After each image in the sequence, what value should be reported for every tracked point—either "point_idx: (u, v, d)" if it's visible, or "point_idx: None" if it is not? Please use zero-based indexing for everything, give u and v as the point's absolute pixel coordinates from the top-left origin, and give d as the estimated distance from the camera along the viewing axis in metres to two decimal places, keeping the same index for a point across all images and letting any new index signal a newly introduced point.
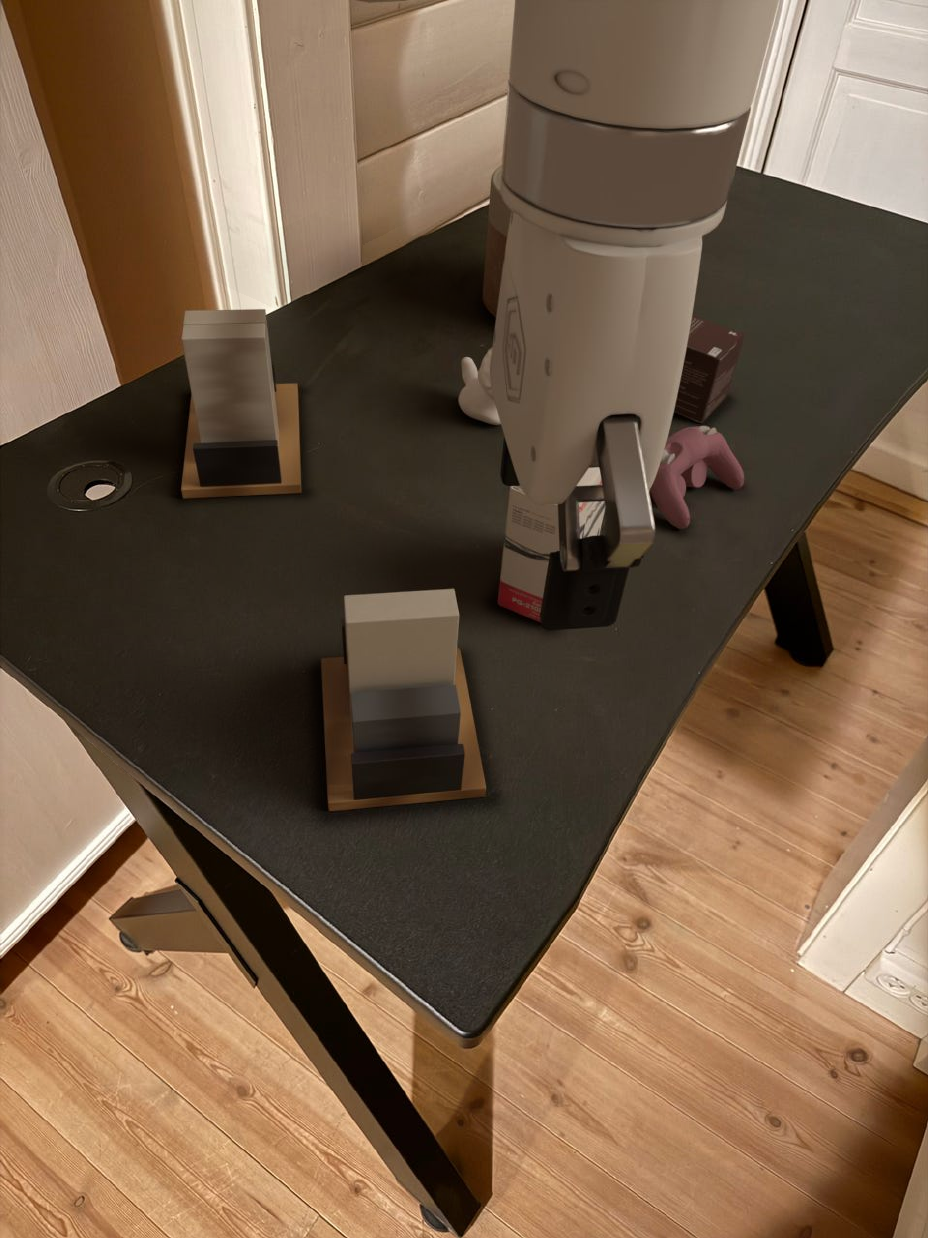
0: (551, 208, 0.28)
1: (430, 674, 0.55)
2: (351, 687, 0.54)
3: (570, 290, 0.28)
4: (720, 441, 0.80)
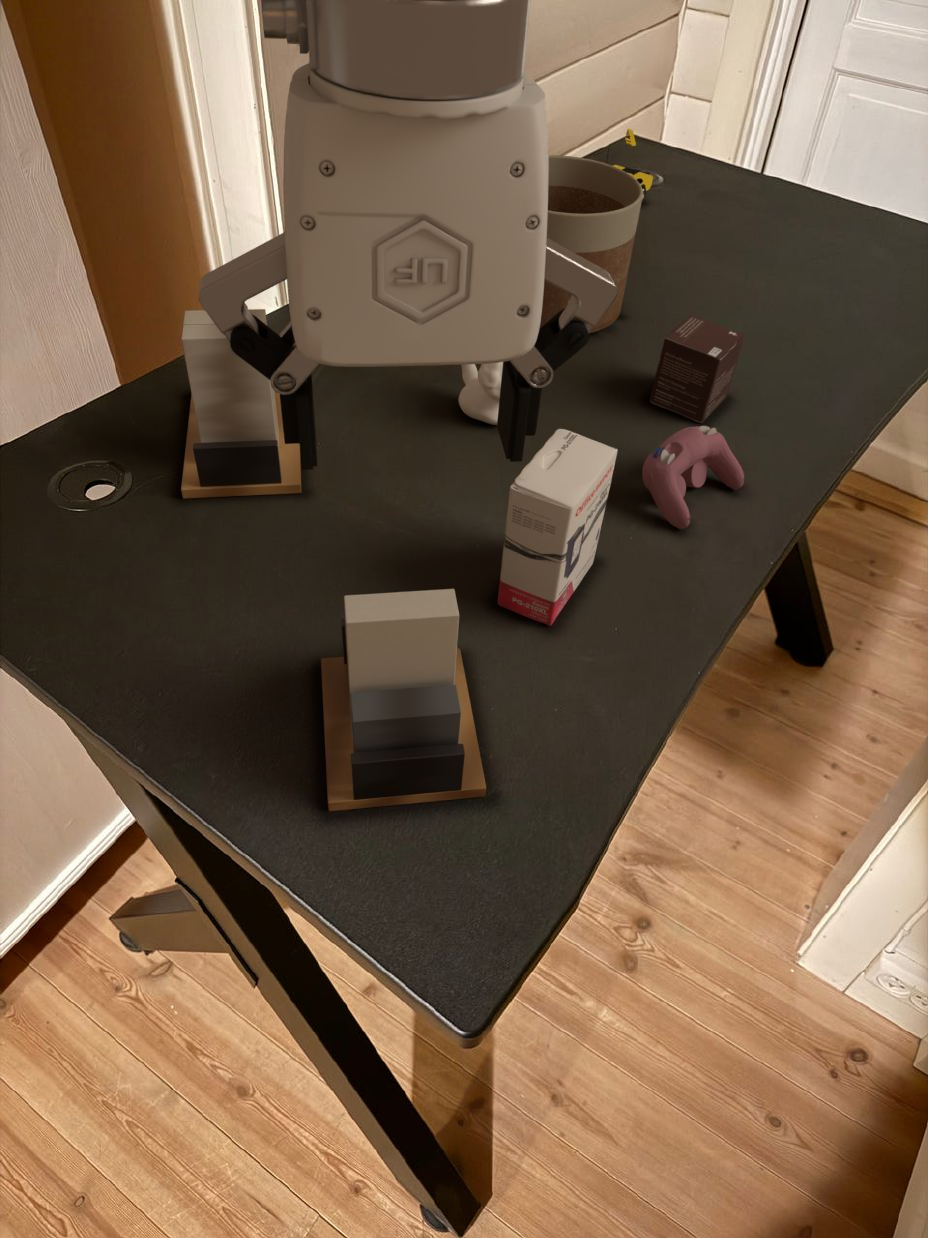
0: (503, 86, 0.30)
1: (430, 674, 0.55)
2: (351, 687, 0.54)
3: (541, 141, 0.32)
4: (720, 441, 0.80)
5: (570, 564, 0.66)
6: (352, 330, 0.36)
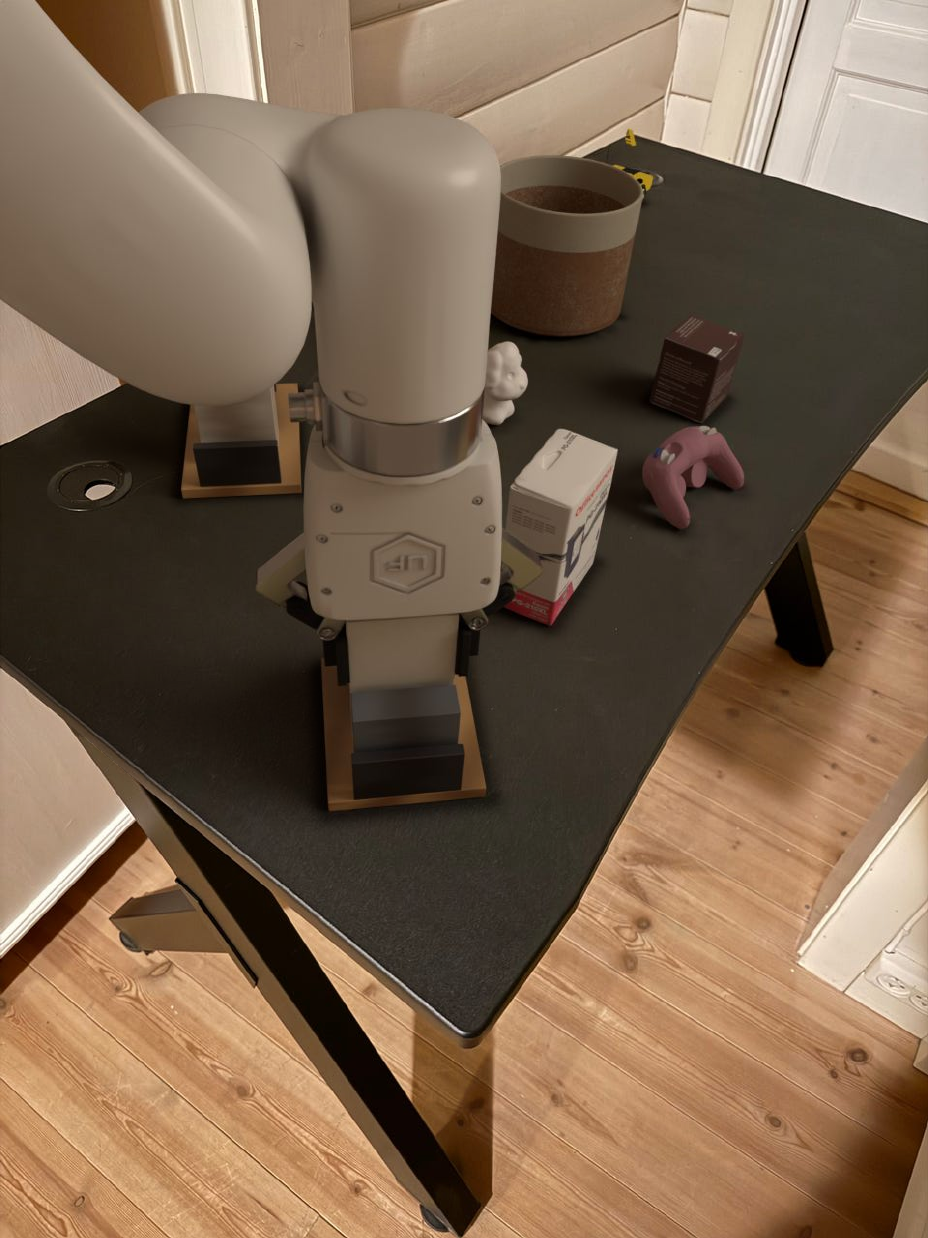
0: (464, 457, 0.41)
1: (430, 674, 0.55)
2: (351, 687, 0.54)
3: (494, 481, 0.43)
4: (720, 441, 0.80)
5: (570, 564, 0.66)
6: (355, 600, 0.47)
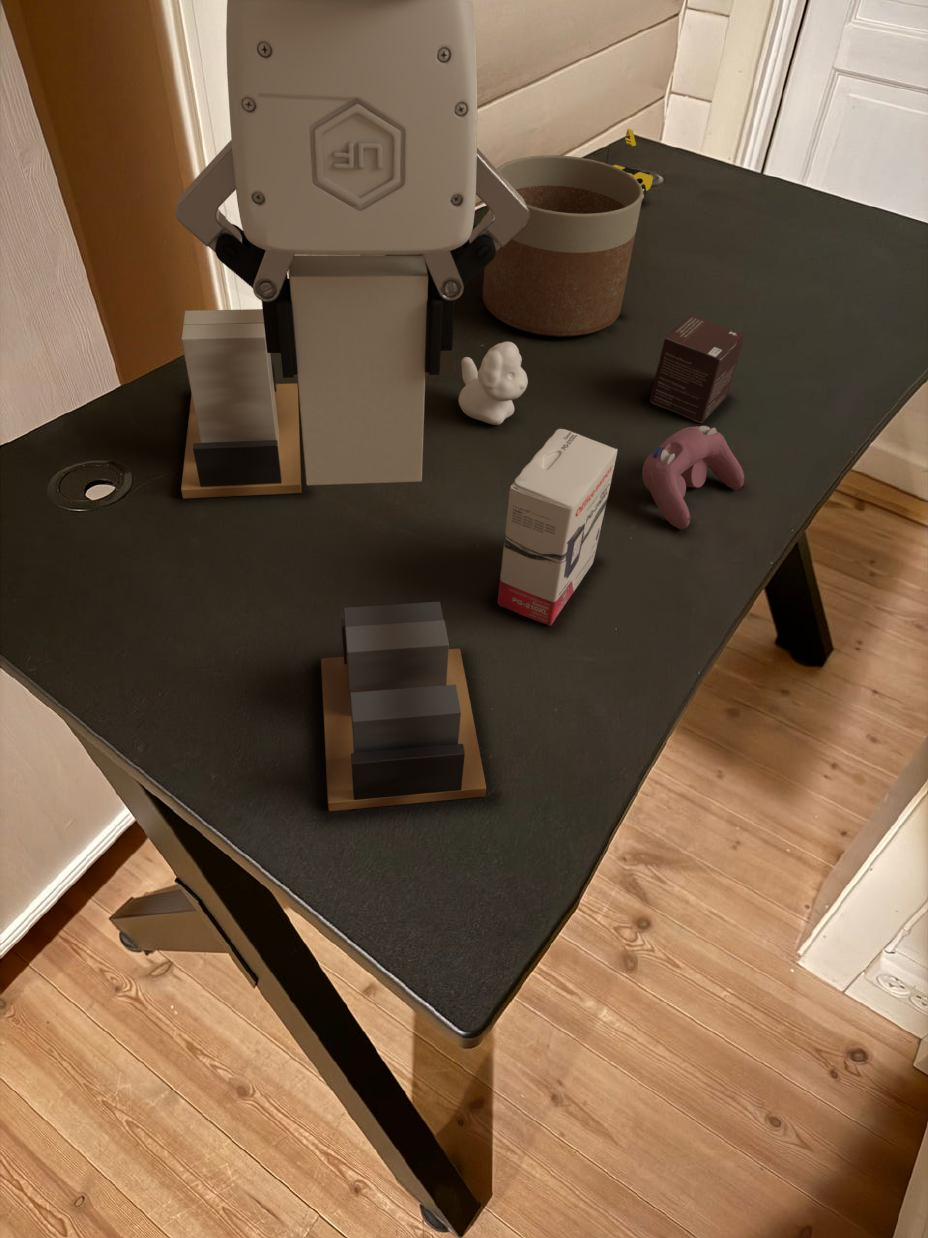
0: None
1: (395, 371, 0.46)
2: (300, 385, 0.45)
3: (466, 27, 0.34)
4: (720, 441, 0.80)
5: (570, 564, 0.66)
6: (295, 215, 0.38)
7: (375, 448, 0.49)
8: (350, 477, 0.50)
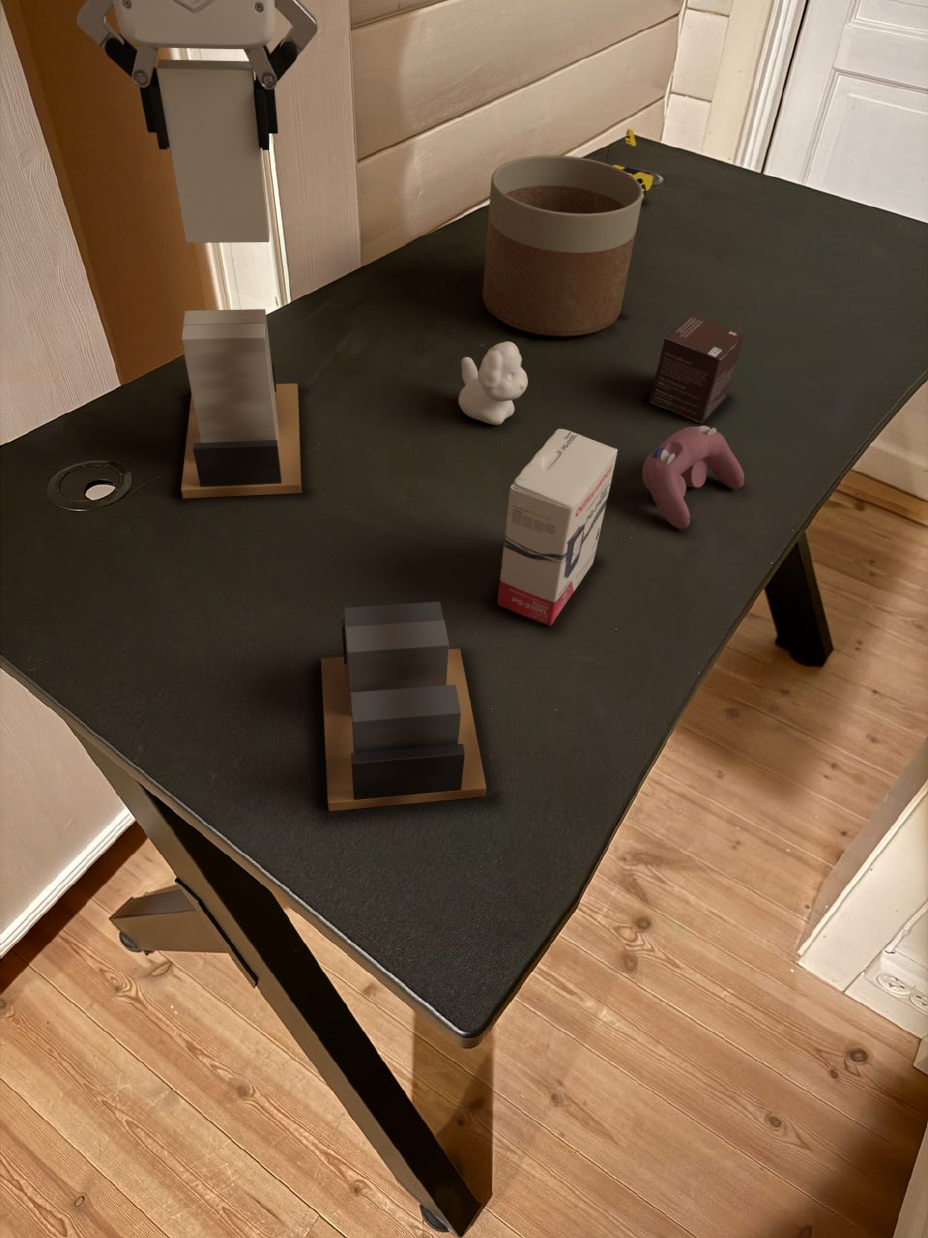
0: None
1: (238, 146, 0.66)
2: (172, 156, 0.66)
3: None
4: (720, 441, 0.80)
5: (570, 564, 0.66)
6: (152, 16, 0.58)
7: (232, 212, 0.69)
8: (216, 236, 0.70)
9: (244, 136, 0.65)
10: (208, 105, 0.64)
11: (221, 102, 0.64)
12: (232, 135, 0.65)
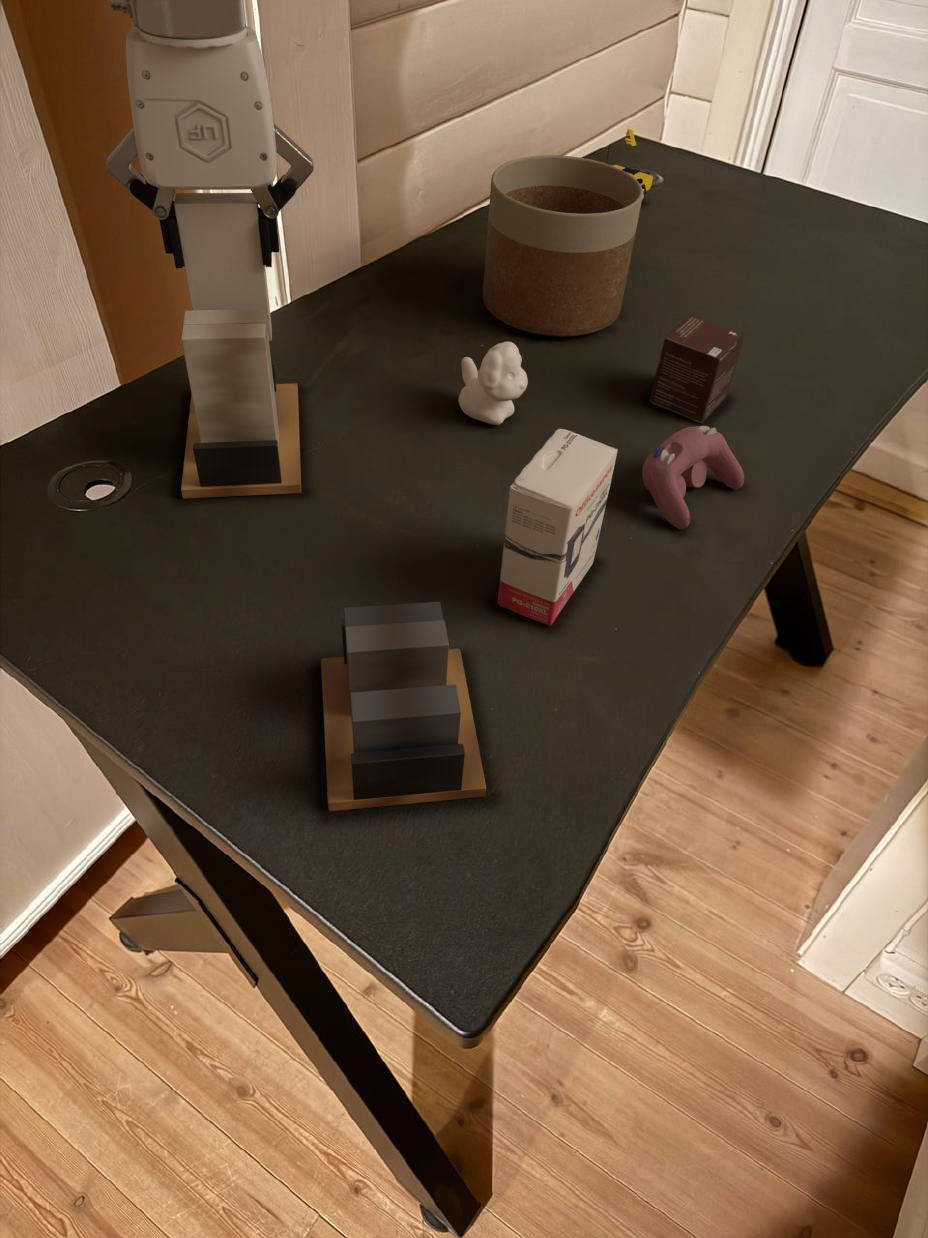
0: (227, 33, 0.62)
1: (244, 264, 0.75)
2: (187, 273, 0.75)
3: (255, 61, 0.64)
4: (720, 441, 0.80)
5: (570, 564, 0.66)
6: (171, 166, 0.68)
7: None
8: None
9: (250, 256, 0.75)
10: (218, 232, 0.73)
11: (230, 229, 0.73)
12: (239, 255, 0.75)
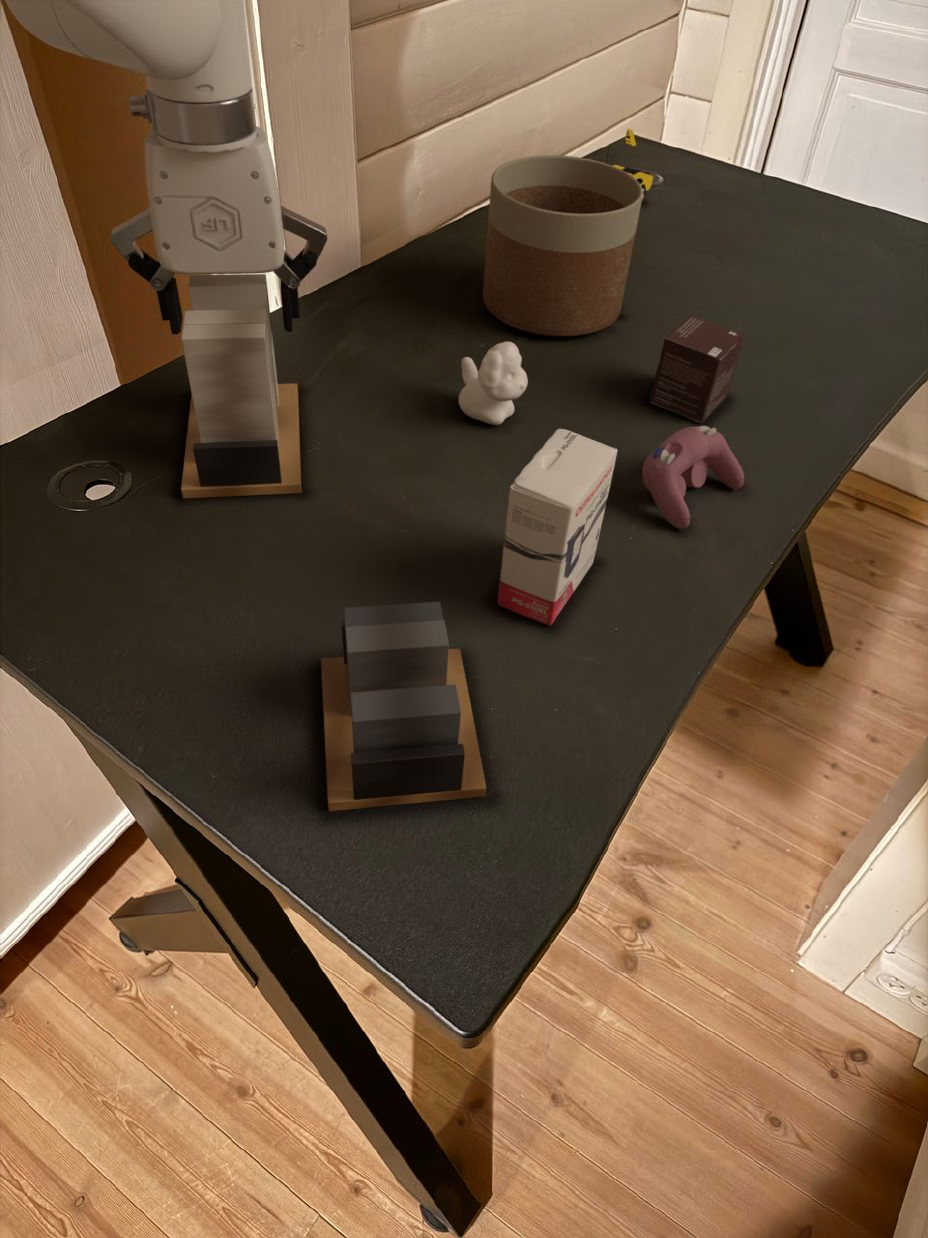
0: (239, 137, 0.67)
1: None
2: None
3: (264, 161, 0.69)
4: (720, 441, 0.80)
5: (570, 564, 0.66)
6: (185, 254, 0.72)
7: None
8: None
9: None
10: None
11: (240, 308, 0.78)
12: None
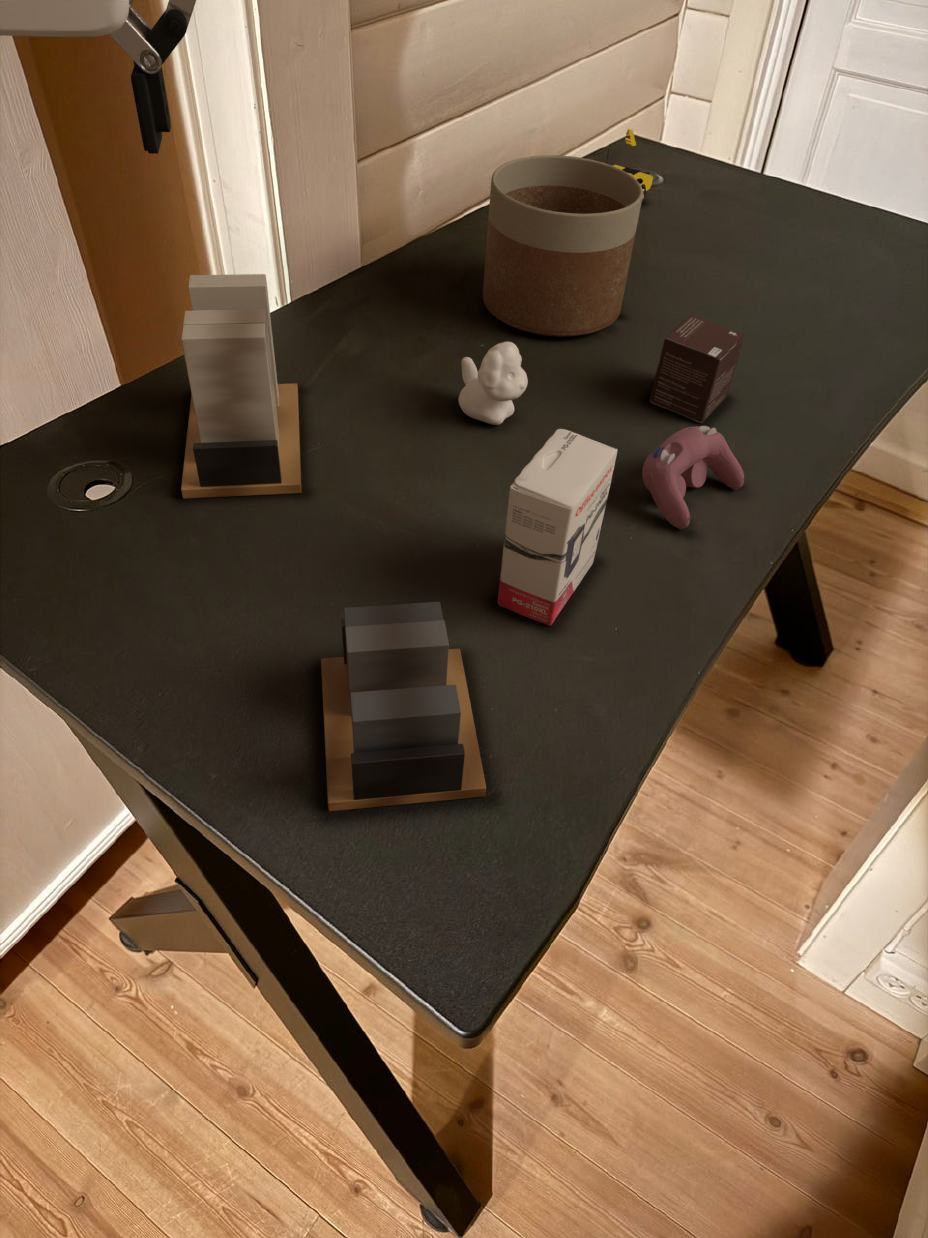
0: None
1: None
2: None
3: None
4: (720, 441, 0.80)
5: (570, 564, 0.66)
6: None
7: None
8: None
9: None
10: None
11: (240, 308, 0.78)
12: None
